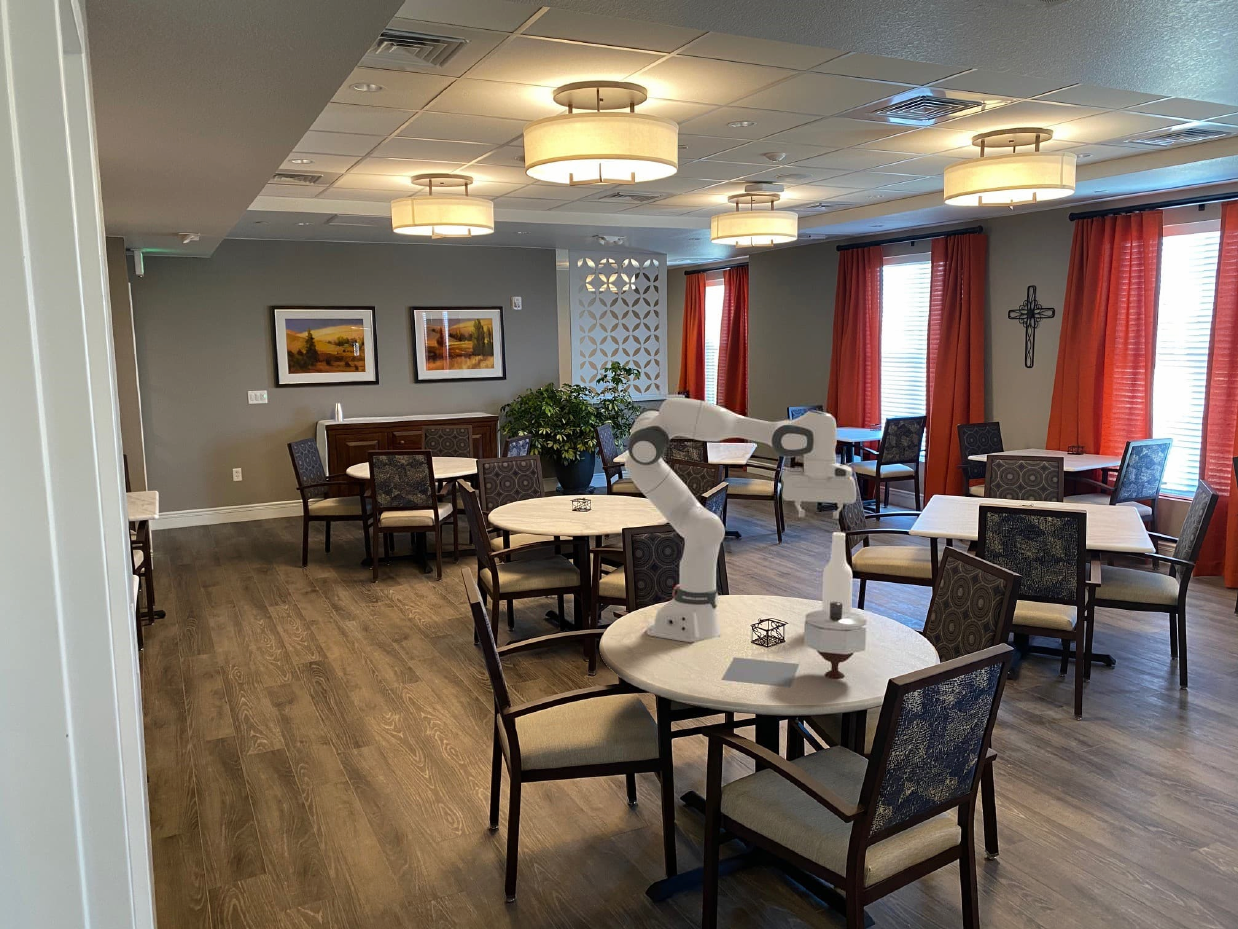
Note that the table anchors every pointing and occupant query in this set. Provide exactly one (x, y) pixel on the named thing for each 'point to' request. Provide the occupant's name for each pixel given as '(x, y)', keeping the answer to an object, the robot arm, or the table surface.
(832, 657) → the ice cream bowl
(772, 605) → the table surface
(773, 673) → the mat
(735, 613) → the table surface
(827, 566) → the alcohol
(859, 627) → the cover
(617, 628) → the table surface
